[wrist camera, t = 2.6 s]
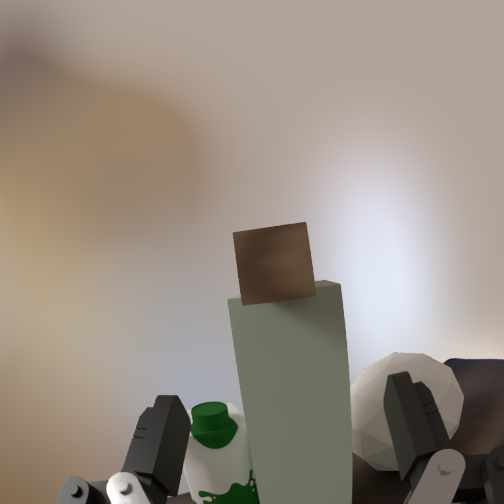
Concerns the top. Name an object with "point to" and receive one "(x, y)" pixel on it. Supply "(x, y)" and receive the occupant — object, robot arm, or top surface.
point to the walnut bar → (274, 264)
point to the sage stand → (296, 396)
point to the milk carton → (219, 456)
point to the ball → (372, 409)
